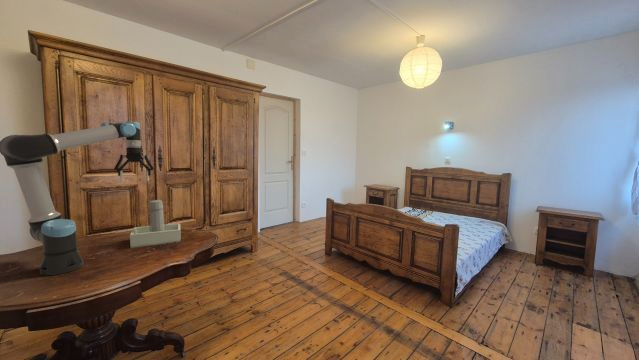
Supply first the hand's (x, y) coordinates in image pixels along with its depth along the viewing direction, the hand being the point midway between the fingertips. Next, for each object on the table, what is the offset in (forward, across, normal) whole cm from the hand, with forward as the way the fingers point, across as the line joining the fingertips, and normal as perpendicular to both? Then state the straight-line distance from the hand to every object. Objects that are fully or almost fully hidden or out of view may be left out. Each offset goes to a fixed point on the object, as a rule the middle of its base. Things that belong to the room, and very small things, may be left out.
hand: (135, 181), depth 165 cm
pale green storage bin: (+38, +12, -5) cm, 40 cm away
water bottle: (+38, +11, -5) cm, 40 cm away
